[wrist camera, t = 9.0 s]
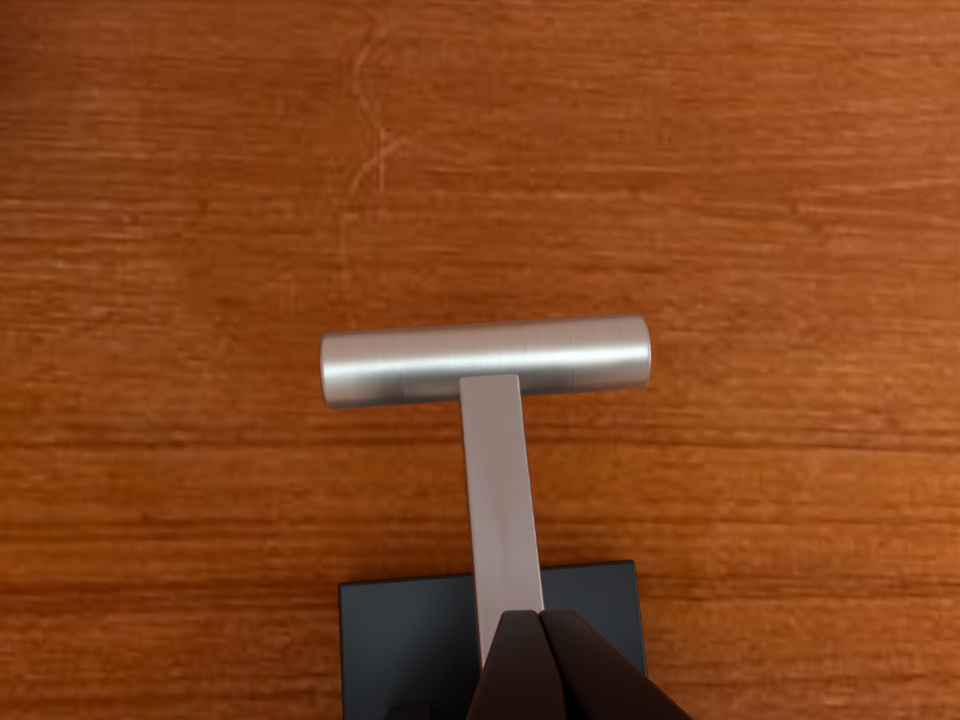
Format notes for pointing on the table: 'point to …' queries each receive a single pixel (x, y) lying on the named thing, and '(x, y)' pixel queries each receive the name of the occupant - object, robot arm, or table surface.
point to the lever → (489, 418)
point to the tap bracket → (458, 636)
